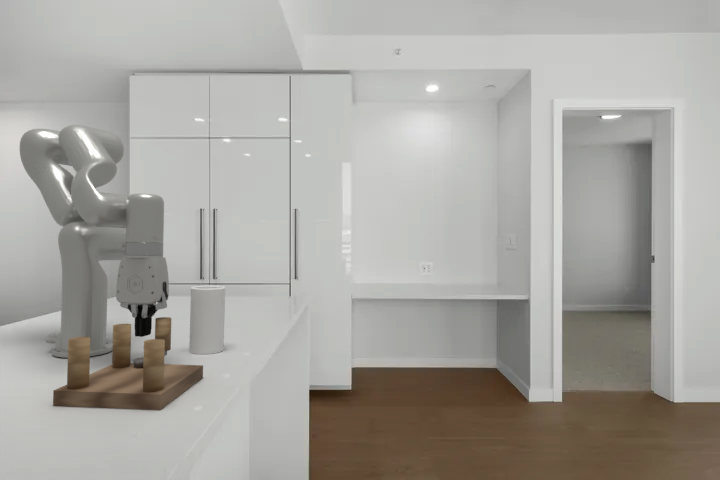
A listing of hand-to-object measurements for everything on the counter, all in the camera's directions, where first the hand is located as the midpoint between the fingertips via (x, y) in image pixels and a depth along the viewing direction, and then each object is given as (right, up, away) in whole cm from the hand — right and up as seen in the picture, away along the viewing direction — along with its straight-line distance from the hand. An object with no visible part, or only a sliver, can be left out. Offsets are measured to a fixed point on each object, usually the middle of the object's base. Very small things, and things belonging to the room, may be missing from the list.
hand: (143, 335), depth 100 cm
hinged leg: (+4, -4, -4) cm, 7 cm away
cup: (+8, -7, +16) cm, 20 cm away
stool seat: (+6, -7, -16) cm, 18 cm away
